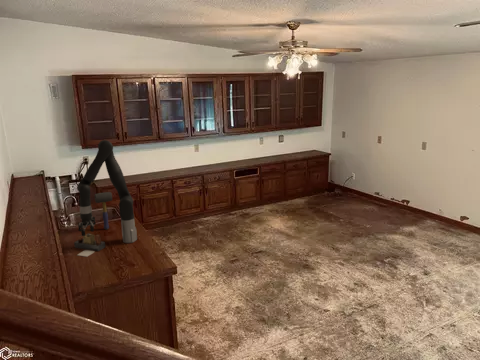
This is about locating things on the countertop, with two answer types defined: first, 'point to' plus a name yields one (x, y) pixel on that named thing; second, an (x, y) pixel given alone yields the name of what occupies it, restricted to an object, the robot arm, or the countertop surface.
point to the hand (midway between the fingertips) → (88, 233)
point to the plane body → (94, 246)
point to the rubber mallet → (104, 205)
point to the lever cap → (89, 238)
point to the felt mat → (86, 253)
